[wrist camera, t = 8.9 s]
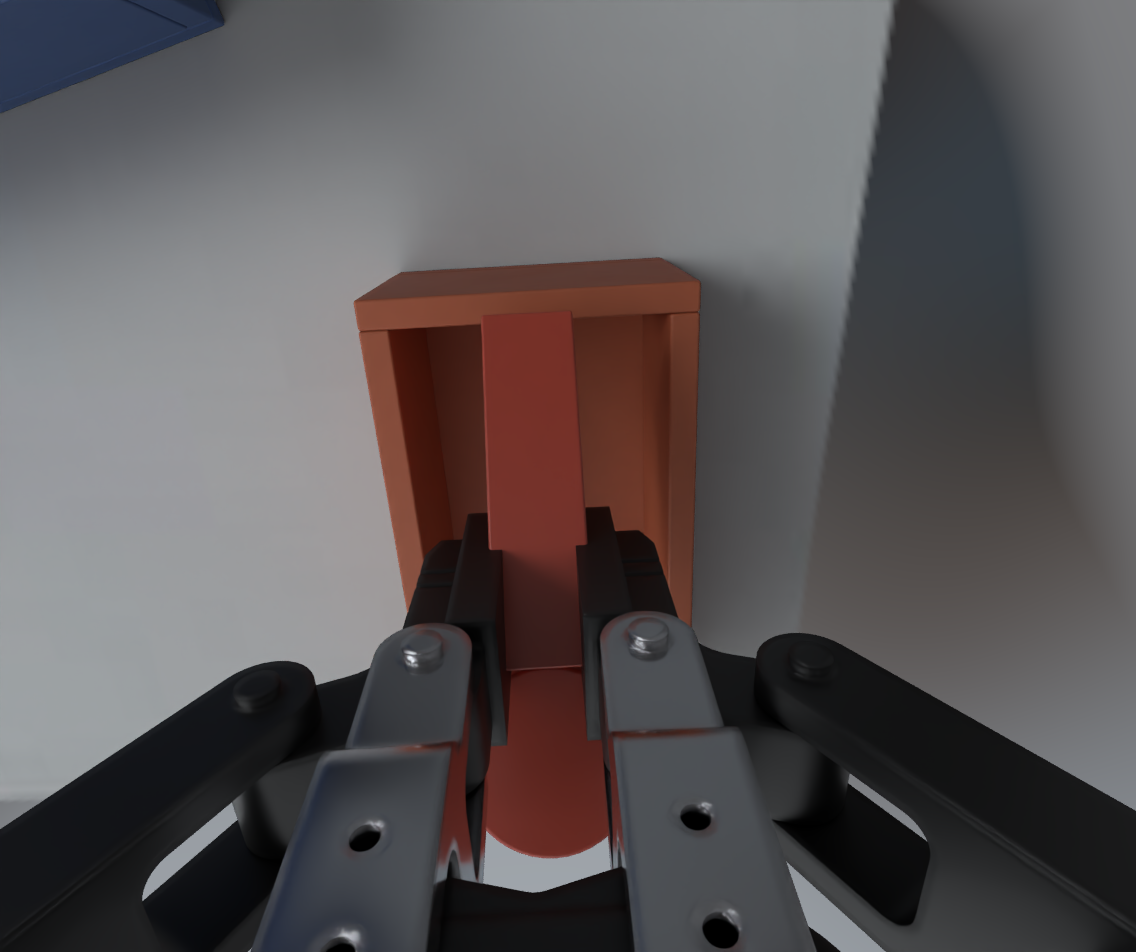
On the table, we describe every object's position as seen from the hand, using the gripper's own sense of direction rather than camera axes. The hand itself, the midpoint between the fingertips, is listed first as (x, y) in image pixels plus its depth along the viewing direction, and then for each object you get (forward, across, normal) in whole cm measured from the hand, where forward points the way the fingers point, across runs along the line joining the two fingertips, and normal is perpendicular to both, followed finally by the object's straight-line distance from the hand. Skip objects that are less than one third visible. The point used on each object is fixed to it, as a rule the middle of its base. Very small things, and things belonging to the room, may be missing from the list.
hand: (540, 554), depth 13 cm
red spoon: (0, 0, +1) cm, 1 cm away
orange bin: (+7, 0, +2) cm, 7 cm away
